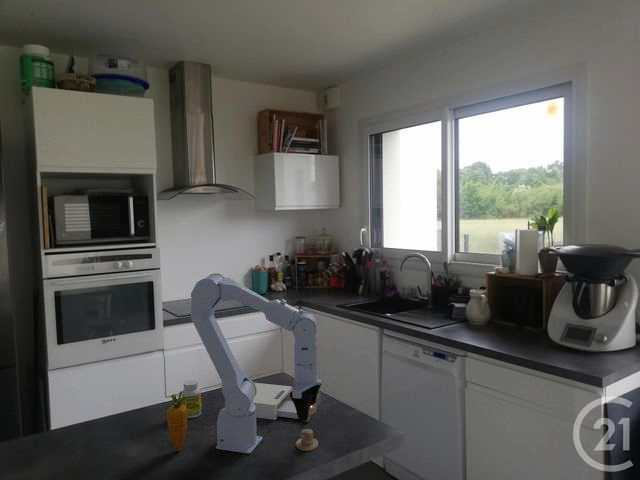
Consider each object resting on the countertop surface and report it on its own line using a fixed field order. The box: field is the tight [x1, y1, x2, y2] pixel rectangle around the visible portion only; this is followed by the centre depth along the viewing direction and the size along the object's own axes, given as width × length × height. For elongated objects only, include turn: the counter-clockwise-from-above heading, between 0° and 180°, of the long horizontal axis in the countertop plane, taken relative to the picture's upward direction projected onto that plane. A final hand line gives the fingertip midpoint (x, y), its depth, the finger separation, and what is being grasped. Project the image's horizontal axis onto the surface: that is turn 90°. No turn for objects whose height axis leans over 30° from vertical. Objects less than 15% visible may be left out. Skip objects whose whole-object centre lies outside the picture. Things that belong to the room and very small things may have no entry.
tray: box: [277, 392, 322, 423], centre depth 139 cm, size 13×13×3 cm
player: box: [253, 382, 293, 421], centre depth 142 cm, size 14×14×4 cm
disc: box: [296, 402, 317, 417], centre depth 119 cm, size 5×5×2 cm
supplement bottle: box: [181, 379, 203, 419], centre depth 138 cm, size 5×5×10 cm
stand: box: [295, 428, 319, 452], centre depth 119 cm, size 6×6×4 cm
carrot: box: [166, 390, 189, 452], centre depth 117 cm, size 5×5×15 cm
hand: (306, 415), depth 119 cm, fingers closed on disc, 5 cm apart
